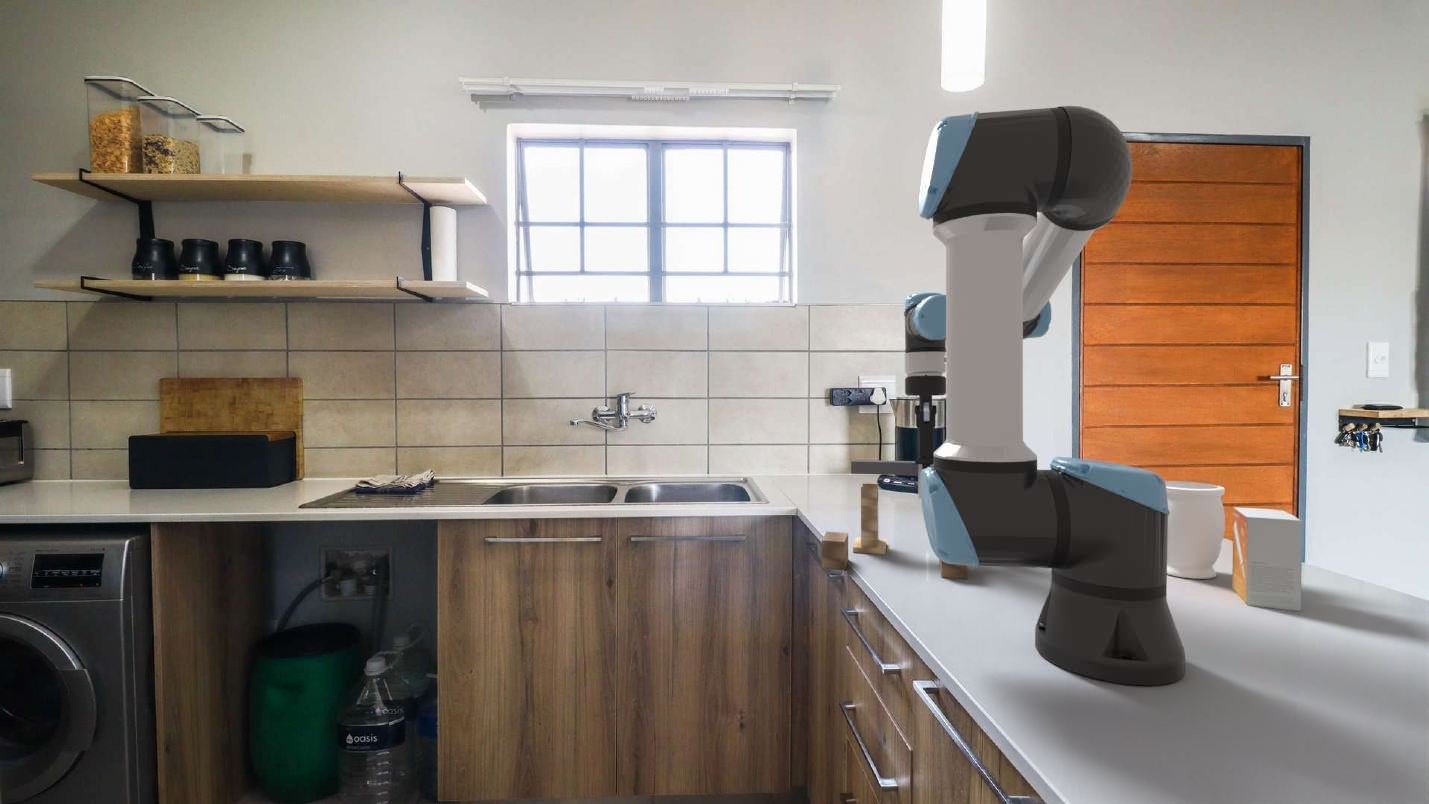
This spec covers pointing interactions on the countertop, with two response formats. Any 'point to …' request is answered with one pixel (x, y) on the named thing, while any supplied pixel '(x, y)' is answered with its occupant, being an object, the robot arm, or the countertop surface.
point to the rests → (838, 556)
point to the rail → (884, 467)
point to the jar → (1194, 528)
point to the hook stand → (869, 522)
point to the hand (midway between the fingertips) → (925, 496)
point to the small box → (1267, 558)
